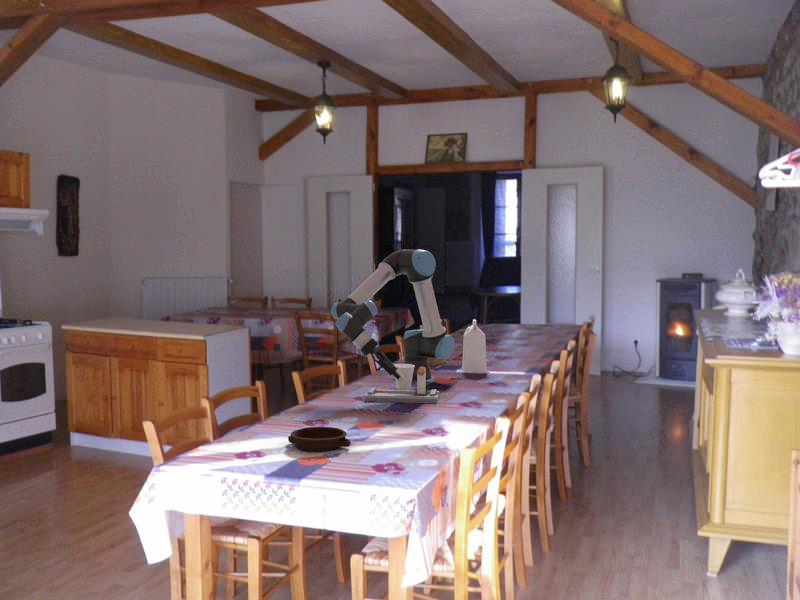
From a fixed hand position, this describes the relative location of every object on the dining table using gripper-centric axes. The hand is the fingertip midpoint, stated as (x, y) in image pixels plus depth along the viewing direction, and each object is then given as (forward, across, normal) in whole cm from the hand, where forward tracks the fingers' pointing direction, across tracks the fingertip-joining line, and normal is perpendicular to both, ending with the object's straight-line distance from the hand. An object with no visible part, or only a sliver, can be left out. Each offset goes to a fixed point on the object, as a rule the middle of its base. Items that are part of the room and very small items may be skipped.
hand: (405, 383), depth 332 cm
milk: (+24, +73, -13) cm, 78 cm away
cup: (+3, +19, +7) cm, 20 cm away
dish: (-9, -78, +18) cm, 81 cm away
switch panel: (+4, 0, +6) cm, 7 cm away
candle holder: (+8, +93, +3) cm, 93 cm away
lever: (+8, 0, -1) cm, 8 cm away
